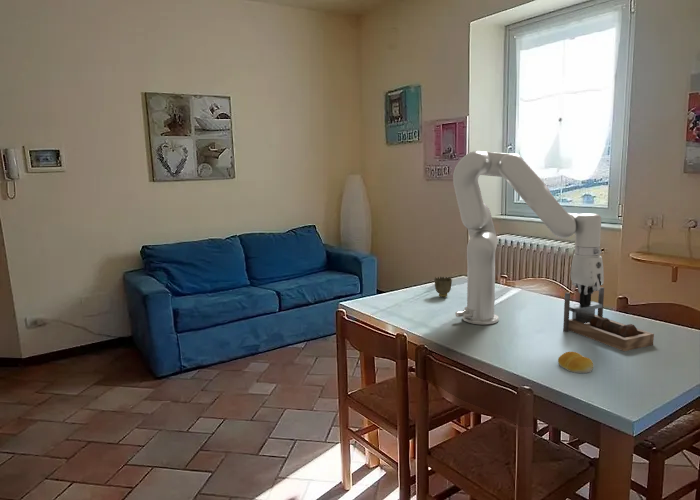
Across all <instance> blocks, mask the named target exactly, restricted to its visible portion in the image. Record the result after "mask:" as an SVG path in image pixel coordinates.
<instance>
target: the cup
mask: <svg viewBox="0 0 700 500" xmlns="http://www.w3.org/2000/svg"><path fill="white" fill-rule="evenodd" d="M433 280H434V281H433V282H434V288H435V289H434V290H435V291H436V293H438V296H439V298H447V297H448V294H449V293H450V292H451V290H452V282H453V278H451V277H450V276H448V277H447V276H445V277H444V276H438V277H436V276H435V277H434V279H433Z"/></svg>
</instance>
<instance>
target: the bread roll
mask: <svg viewBox="0 0 700 500" xmlns="http://www.w3.org/2000/svg"><path fill="white" fill-rule="evenodd" d="M557 362H558V364H559V366H560V367H561V368H563V369H565V370H567V371H568V372H571V373H576V374H588V373H590V372H592V371H593V369H594V362H593V360H592V359H591V358H589V357H587V356H583V355H581V354H580V353H578V352H576V351H565V353H564V352H563V354H561V355H560V356H559V357H558V360H557Z"/></svg>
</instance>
